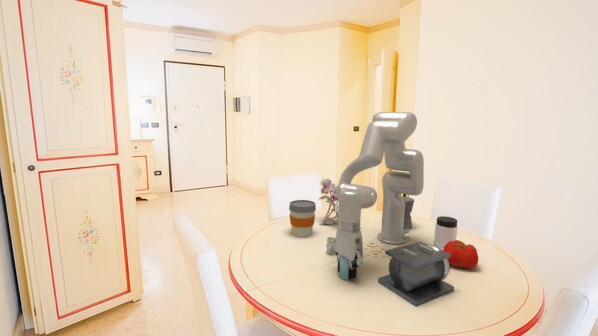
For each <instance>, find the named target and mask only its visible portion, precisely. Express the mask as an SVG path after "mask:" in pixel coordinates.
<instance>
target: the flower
mask: <svg viewBox="0 0 598 336" xmlns="http://www.w3.org/2000/svg"><path fill="white" fill-rule="evenodd" d="M320 185H321V186H322V188H321V189H320V192H321V193H322V194H325V195H323V196H321V197H319V199H318V201H320V200H323V199H327V200H326V201H325V203H328V204H329V205H328V210H327V212H326V214H325V216H324V218H323V219H322V221H321V222H320V223H319V226H322V225H329V226H331V225H333V224H334V223H335V220H334V219H335V218H338V209H339V200H338V199H337V188H338V184H337V185H336V184H335V183H333V182H332V180H331V179H329V178H325V179H324V177H323V176H322V180H321V181H320ZM328 194H330V195H329V196H328ZM335 202H336V203H335ZM331 207H333V208H332V209H331ZM332 213H335V216H333V217H330V216H331V215H332Z"/></svg>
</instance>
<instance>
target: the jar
mask: <svg viewBox="0 0 598 336" xmlns="http://www.w3.org/2000/svg"><path fill="white" fill-rule="evenodd" d="M457 236H458V220H457V218H454V217H451V216H442V215H441V216H438V217H437V218H436V224H435V228H434V238H433V239H434V240H433V244H434V246H436V247H438V248H440V249H444V246H445V245H446V244H447V243H448V242H449V241H455V240H457Z"/></svg>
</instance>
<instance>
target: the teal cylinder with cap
mask: <svg viewBox="0 0 598 336" xmlns="http://www.w3.org/2000/svg"><path fill="white" fill-rule="evenodd" d="M352 263H353V264H354V261H352ZM349 268H350V265H349V260H348V259H346V258H345V257H343V256H341V255H340V272H338V273H339V275H338V276H339V278H340V279H341V280H343V281H352V280H354V279H351V280H349V279H348V269H349Z"/></svg>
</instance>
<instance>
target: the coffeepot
mask: <svg viewBox="0 0 598 336" xmlns="http://www.w3.org/2000/svg"><path fill="white" fill-rule="evenodd" d="M402 197H403V199H404V202H405V210H404V224H403V229H404V230H405V229H409V230H410V231H411V229H413V221H412V216H411V213H412V211H413V206H414V202H415V199H414V198H412V197H409V196H407V194H402Z"/></svg>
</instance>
